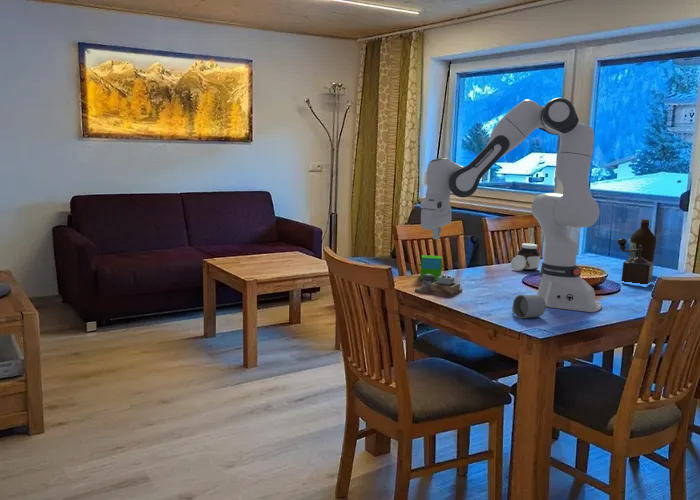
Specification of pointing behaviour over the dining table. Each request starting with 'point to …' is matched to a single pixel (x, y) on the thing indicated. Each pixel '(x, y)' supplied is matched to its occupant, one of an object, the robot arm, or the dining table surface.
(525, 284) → the dining table surface
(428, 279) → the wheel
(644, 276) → the manual coffee grinder
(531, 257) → the spread jar
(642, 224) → the olive oil
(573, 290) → the robot arm
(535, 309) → the ceramic mug
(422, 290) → the chassis
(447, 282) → the engine block
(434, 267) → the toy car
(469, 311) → the dining table surface
